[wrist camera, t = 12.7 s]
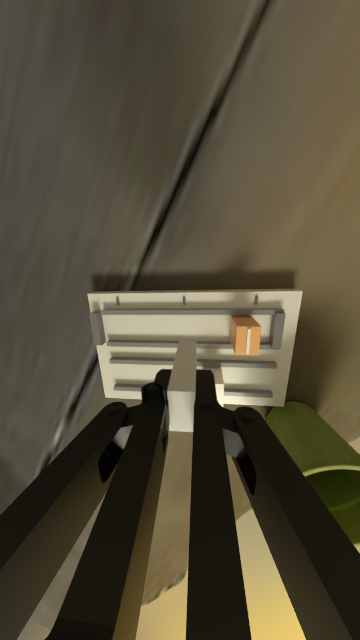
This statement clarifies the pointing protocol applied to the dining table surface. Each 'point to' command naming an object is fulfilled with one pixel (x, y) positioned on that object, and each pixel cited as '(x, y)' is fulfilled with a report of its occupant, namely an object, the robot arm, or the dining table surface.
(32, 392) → the dining table surface
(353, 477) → the plant pot
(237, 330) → the fader knob
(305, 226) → the dining table surface
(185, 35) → the dining table surface
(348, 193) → the dining table surface
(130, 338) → the fader panel
